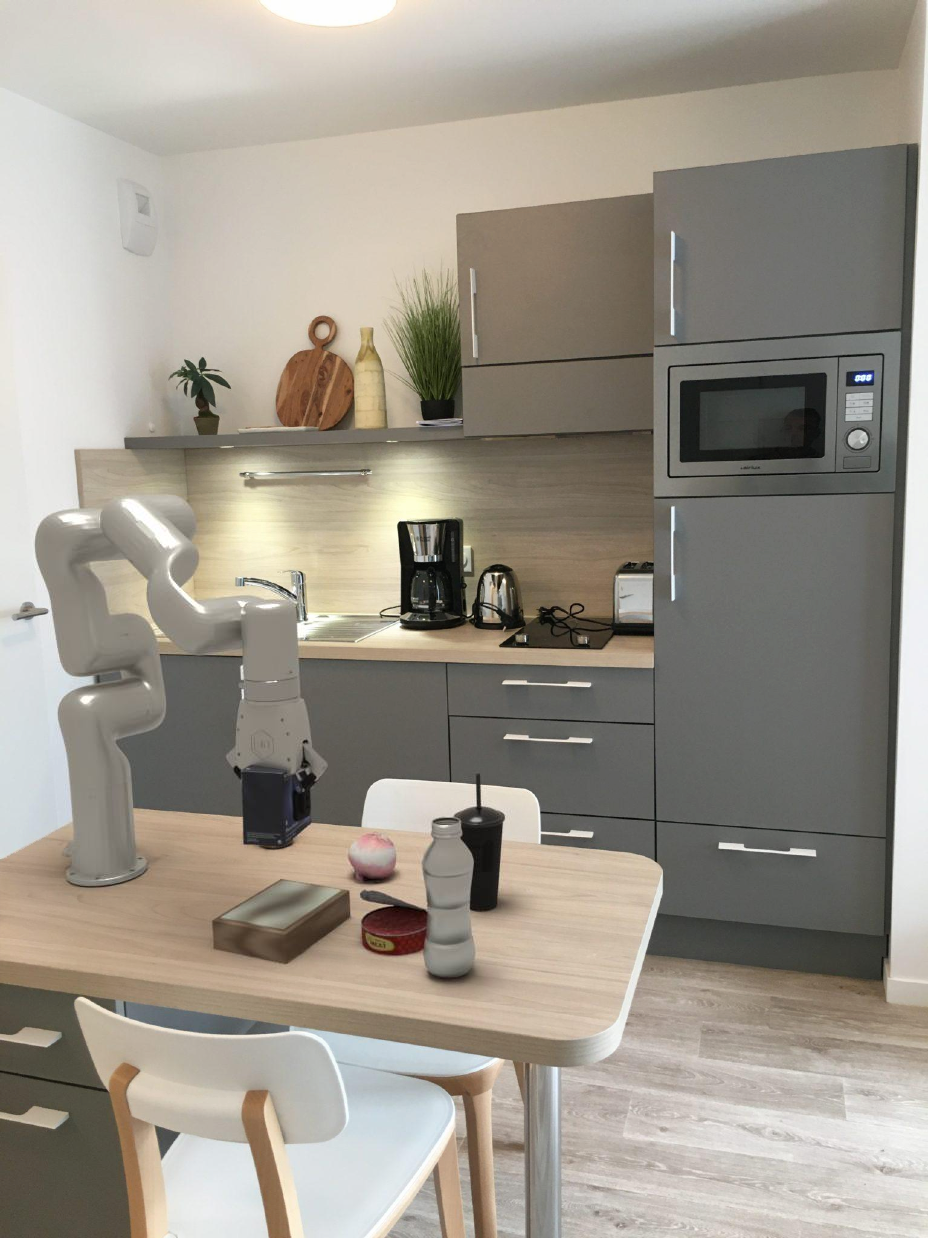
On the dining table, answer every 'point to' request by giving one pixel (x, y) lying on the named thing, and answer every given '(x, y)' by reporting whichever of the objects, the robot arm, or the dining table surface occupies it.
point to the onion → (372, 857)
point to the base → (281, 920)
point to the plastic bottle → (448, 901)
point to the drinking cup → (483, 850)
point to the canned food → (393, 926)
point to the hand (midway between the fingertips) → (278, 814)
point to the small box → (269, 807)
